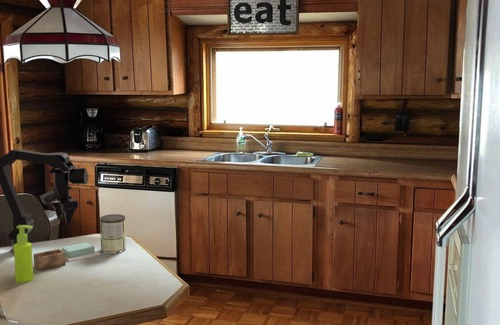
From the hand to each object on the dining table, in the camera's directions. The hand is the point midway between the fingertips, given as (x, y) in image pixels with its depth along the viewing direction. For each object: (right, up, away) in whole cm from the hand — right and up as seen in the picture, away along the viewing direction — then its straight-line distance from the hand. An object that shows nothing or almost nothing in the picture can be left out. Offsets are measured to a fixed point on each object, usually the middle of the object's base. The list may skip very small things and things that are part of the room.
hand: (63, 221), depth 228 cm
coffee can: (+19, -13, +5) cm, 24 cm away
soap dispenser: (-4, -18, -29) cm, 34 cm away
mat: (+7, -13, -1) cm, 15 cm away
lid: (+7, -12, -1) cm, 14 cm away
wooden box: (0, -16, -15) cm, 21 cm away
